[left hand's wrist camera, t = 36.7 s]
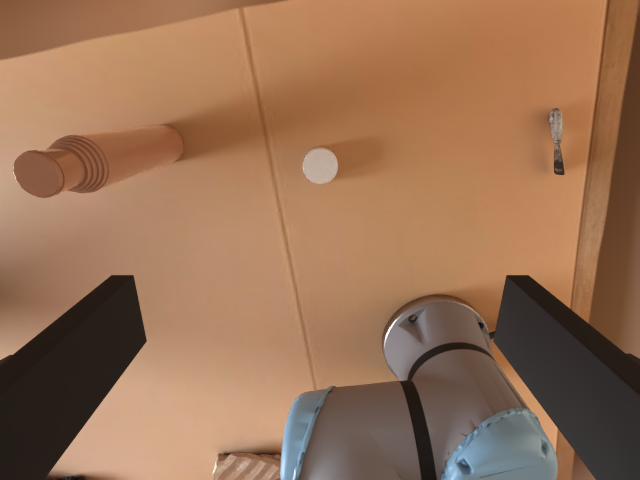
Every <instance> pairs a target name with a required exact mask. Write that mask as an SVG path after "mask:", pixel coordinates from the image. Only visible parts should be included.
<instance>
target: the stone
mask: <svg viewBox="0 0 640 480" xmlns="http://www.w3.org/2000/svg"><path fill="white" fill-rule="evenodd" d="M280 469H281V455H279V454H275V455H269V454H260V455H255V454H252V453H232V454H230V455H222V454H218V456H217V460H216V463H215V467H214V470H213V473H212V477H213V480H276V479H278V478H279V477H280Z"/></svg>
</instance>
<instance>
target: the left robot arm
mask: <svg viewBox="0 0 640 480" xmlns="http://www.w3.org/2000/svg"><path fill="white" fill-rule="evenodd" d="M492 338H494V340H493V341H494V343H495V344H496V345H497V347H498V348H499V349H500V351H501V352H502V353H503V355H504V356H505V358H506V359H507V360H508V362H509V363H510V364H511V366H512V367H513V368H514V370H515V371H516V372H517V374H518V375H519V376H520V378H521V379H522V380H523V382H524V383H525V384H526V386H527V387H528V389H529V390H530V391H531V393H532V394H533V395H534V397H535V398H536V399H537V401H538V402H539V403H540V405H541V406H542V407H543V409H544V410H545V411H546V413H547V414H548V415H549V417H550V418H551V420H552V421H553V422H554V424H555V425H556V426H557V428H558V429H559V430H560V432H561V433H562V434H563V436H564V437H565V438H566V440H567V441H568V442H569V444H570V445H571V446H572V448H573V449H574V450H575V452H576V453H577V455H578V456H579V457H580V459H581V460H582V461H583V463H584V464H585V465H586V467H587V468H588V469H589V471H590V472H591V473H592V475H593V476H594V477H595V479H596V480H640V359H639V358H637V357H636V356H634V355H632V354H625V353H624V352H623V351H622V350H620V349H619V348H618V347H617V346H615V345H614V344H613V343H612V342H610V341H609V340H608V339H607V338H605V337H604V336H603V335H602V334H600V333H599V332H598V331H597V330H595V329H594V328H593V327H592V326H591V325H589V324H588V323H587V322H586V321H584V320H583V319H582V318H581V317H579V316H578V315H577V314H576V313H574V312H573V311H572V310H571V309H569V308H568V307H567V306H566V305H565V304H563V303H562V302H561V301H560V300H558V299H557V298H556V297H555V296H553V295H552V294H551V293H550V292H548V291H547V290H546V289H545V288H543V287H542V286H541V285H540V284H538V283H537V282H536V281H535V280H533V279H532V278H531V277H530V276H528V275H507V276H506V281H505V286H504V291H503V296H502V301H501V306H500V311H499V316H498V321H497V326H496V331H494V332H491V333H489V332H488V329H487V326H486V324H485V322H484V321H483V319H482V318H481V316H480V315H479V314H478V313H477V311H476V310H475V309H474V308H473V307H472V306H471V305H469V304H468V303H466V302H465V301H463V300H461V299H458V298H455V297H452V296H446V295H431V296H425V297H422V298H418V299H416V300H413V301H411V302H409V303H407V304H406V305H404V306H403V307H401V308H400V309H399V310H398V311H397V312H396V313H395V314H394V315H393V316H392V317H391V318H390V320H389V321H388V323H387V325H386V327H385V329H384V333H383V337H382V348H383V352H384V356H385V360H386V363H387V365H388V367H389V369H390V370H391V371H392V373H393V374H394V375H395V376H396V377H397V378H398V379H399V380H400V381H393V382H384V383H375V384H366V385H356V386H345V387H335V386H330V387H329V388H327V389H322V390H316V391H310V392H305V393H303V394H301V395H299V396H298V397H297V398H296V400H295V401H294V402H293V404H292V406H291V409H290V411H289V414H288V418H287V421H286V426H285V431H284V437H283V445H282V455H281V469H280V478H281V480H556V477H557V472H558V462H557V457H556V453H555V450H554V448H553V446H552V444H551V443H550V441H549V439H548V437H547V436H546V434H545V432H544V431H543V429H542V427H541V425H540V422H539V420H538V418H537V417H536V415H535V414H534V413H533V412H531V411H530V409H529V408H528V406H527V405H526V403H525V402H524V401H523V399H522V398H521V396H520V395H519V394H518V392H517V391H516V389H515V388H514V387H513V385H512V384H511V382H510V381H509V379H508V378H507V377H506V375H505V374H504V372H503V371H502V370H501V368H500V367H499V365H498V364H497V363H496V361H495V360H494V358H493V353H492V348H491V343H490V339H492ZM146 341H147V340H146V335H145V331H144V326H143V321H142V316H141V311H140V306H139V301H138V296H137V291H136V286H135V281H134V276H133V275H112V276H110V277H109V278H108V279H107V280H105V281H104V282H103V283H102V284H100V285H99V286H98V287H97V288H95V289H94V290H93V291H92V292H90V293H89V294H88V295H87V296H85V297H84V298H83V299H82V300H80V301H79V302H78V303H77V304H75V305H74V306H73V307H72V308H71V309H69V310H68V311H67V312H66V313H64V314H63V315H62V316H61V317H59V318H58V319H57V320H56V321H54V322H53V323H52V324H51V325H49V326H48V327H47V328H46V329H44V330H43V331H42V332H41V333H39V334H38V335H37V336H36V337H35V338H33V339H32V340H31V341H30V342H28V343H27V344H26V345H25V346H23V347H22V348H21V349H20V350H18V351H17V352H16V353H15V354H13V355H9V356H7V357H5V358H4V359H2V360H0V480H44V479H45V477H46V476H47V475H48V473H49V472H50V471H51V469H52V468H53V467H54V465H55V464H56V463H57V461H58V460H59V459H60V457H61V456H62V455H63V453H64V452H65V450H66V449H67V448H68V446H69V445H70V444H71V442H72V441H73V440H74V438H75V437H76V436H77V434H78V433H79V432H80V430H81V429H82V428H83V426H84V425H85V424H86V422H87V421H88V419H89V418H90V417H91V415H92V414H93V413H94V411H95V410H96V409H97V407H98V406H99V405H100V403H101V402H102V401H103V399H104V398H105V397H106V395H107V394H108V393H109V391H110V390H111V389H112V387H113V386H114V384H115V383H116V382H117V380H118V379H119V378H120V376H121V375H122V374H123V372H124V371H125V370H126V368H127V367H128V366H129V364H130V363H131V362H132V360H133V359H134V358H135V356H136V355H137V353H138V352H139V351H140V349H141V348H142V347H143V345H144V344H145V343H146Z"/></svg>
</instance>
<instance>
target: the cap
mask: <svg viewBox="0 0 640 480" xmlns="http://www.w3.org/2000/svg"><path fill="white" fill-rule="evenodd" d="M337 170H338V162H337V158H336V156H335V154H334V153H333V152H332V151H331V150H329V149H327V148H326V147H316V148H313V149H312V150H309V152H308V153H307V154H306V156H305V157H304V160H303V171H304V174H305V176H306V177H307V178H308V179H309V180H310V181H311V182H313V183H316V184H325V183H328V182H329V181H331V180H332V179H333V178H334V177H335V176H336V173H337Z"/></svg>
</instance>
